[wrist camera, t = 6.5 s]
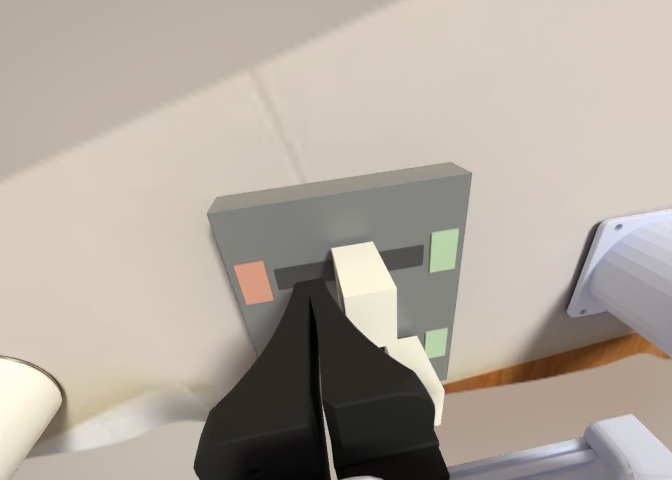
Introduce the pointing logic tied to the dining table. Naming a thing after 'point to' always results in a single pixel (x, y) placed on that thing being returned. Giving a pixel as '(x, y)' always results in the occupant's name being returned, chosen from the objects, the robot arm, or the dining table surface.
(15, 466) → the can
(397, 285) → the panel
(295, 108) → the dining table surface
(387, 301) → the block
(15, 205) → the dining table surface
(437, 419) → the block
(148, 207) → the dining table surface
